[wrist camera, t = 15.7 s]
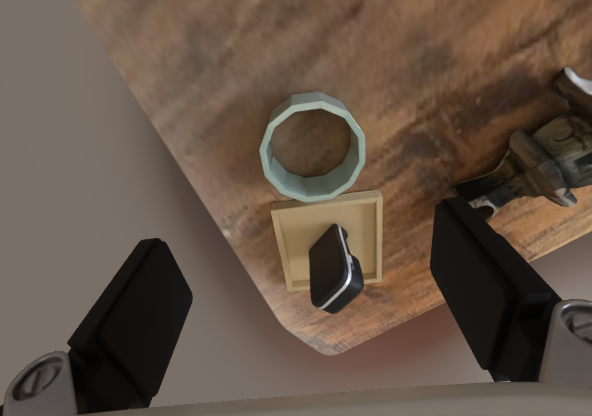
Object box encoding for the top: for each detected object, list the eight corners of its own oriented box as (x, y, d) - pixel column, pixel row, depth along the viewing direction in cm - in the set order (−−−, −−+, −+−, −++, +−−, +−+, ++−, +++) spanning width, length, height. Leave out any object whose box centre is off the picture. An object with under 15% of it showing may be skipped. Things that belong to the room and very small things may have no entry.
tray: (378, 189, 41) (382, 196, 39) (378, 272, 49) (381, 282, 47) (271, 202, 42) (270, 210, 40) (288, 282, 50) (288, 291, 48)
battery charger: (326, 261, 47) (334, 323, 37) (306, 251, 46) (309, 311, 36) (355, 232, 44) (372, 290, 34) (334, 219, 43) (346, 276, 33)
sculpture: (581, 44, 32) (710, 52, 22) (638, 101, 35) (772, 130, 25) (430, 202, 42) (473, 256, 32) (485, 235, 45) (539, 293, 35)
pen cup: (354, 85, 34) (364, 94, 29) (357, 175, 40) (366, 195, 35) (256, 100, 35) (250, 111, 30) (273, 186, 41) (271, 207, 36)
